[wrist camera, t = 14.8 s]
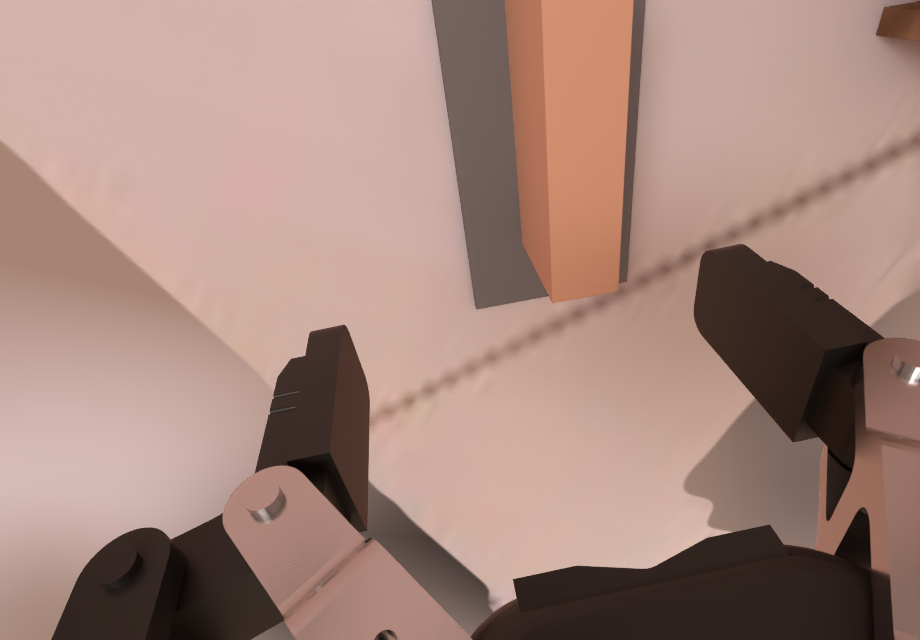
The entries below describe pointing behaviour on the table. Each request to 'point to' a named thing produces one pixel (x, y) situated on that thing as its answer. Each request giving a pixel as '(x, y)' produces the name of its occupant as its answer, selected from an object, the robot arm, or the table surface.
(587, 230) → the terracotta block
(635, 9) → the rubber mat
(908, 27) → the walnut rack
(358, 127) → the table surface
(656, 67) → the table surface
